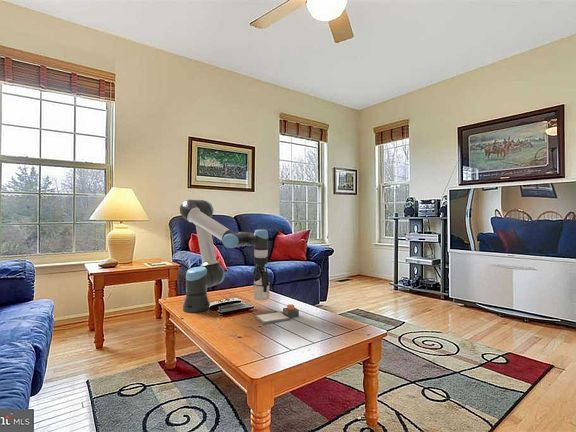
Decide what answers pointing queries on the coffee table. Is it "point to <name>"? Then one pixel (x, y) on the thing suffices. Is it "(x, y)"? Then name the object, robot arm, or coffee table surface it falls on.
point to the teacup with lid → (259, 290)
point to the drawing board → (272, 317)
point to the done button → (290, 307)
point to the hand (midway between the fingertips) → (260, 294)
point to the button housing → (291, 312)
